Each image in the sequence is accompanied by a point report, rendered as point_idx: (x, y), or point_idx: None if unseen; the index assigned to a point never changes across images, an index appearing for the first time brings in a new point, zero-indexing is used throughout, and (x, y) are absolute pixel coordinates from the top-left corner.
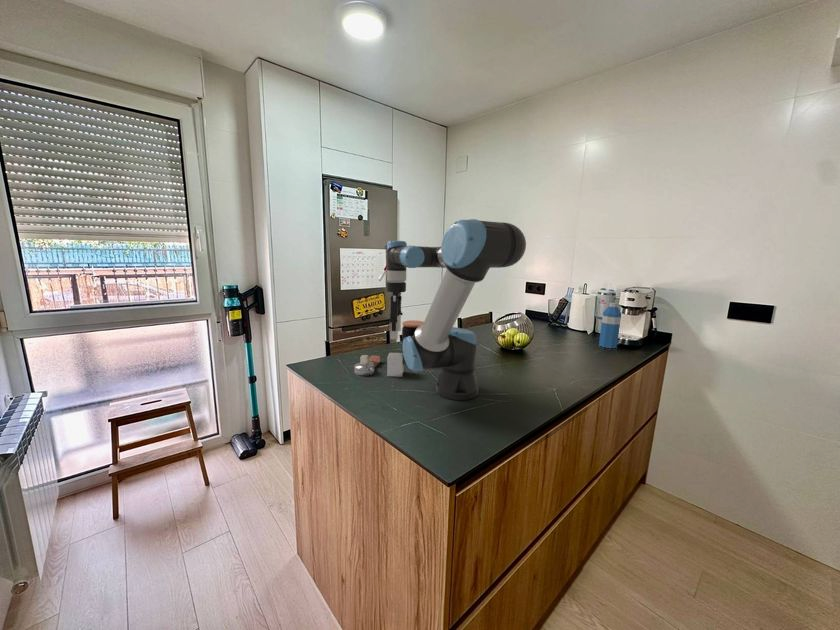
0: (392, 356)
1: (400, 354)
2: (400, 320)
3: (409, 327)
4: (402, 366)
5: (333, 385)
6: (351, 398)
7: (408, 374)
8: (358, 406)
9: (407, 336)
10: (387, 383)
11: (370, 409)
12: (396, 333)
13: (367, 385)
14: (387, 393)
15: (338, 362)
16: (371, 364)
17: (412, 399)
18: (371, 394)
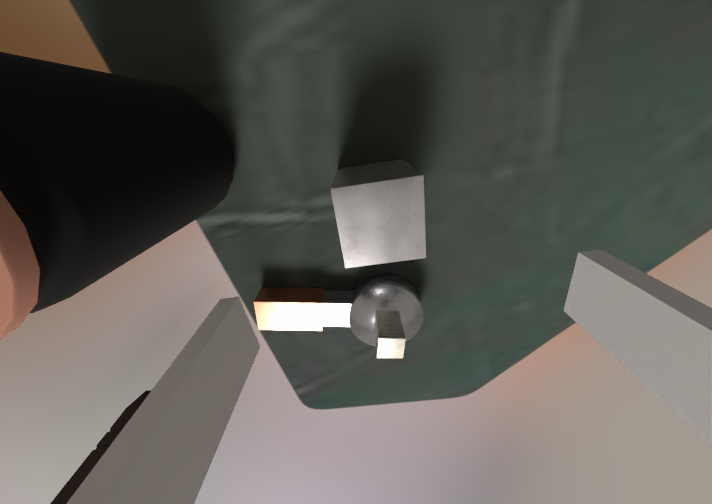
0: (410, 235)
1: (362, 202)
2: (163, 411)
3: (34, 242)
4: (397, 167)
5: (501, 341)
6: None
7: (366, 135)
8: (666, 235)
9: (135, 222)
10: (479, 199)
11: (700, 193)
12: (663, 294)
13: (500, 259)
14: (577, 173)
15: (318, 388)
16: (370, 301)
17: (656, 47)
18: (579, 225)
